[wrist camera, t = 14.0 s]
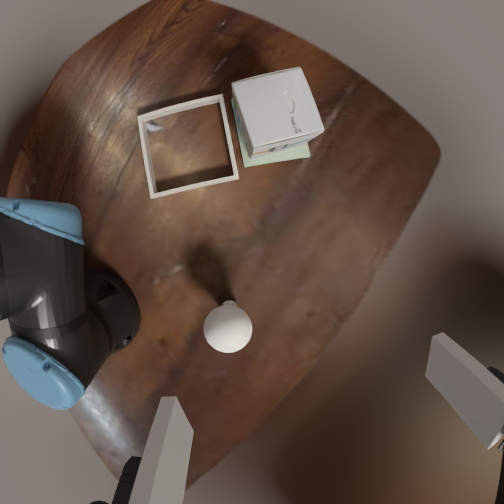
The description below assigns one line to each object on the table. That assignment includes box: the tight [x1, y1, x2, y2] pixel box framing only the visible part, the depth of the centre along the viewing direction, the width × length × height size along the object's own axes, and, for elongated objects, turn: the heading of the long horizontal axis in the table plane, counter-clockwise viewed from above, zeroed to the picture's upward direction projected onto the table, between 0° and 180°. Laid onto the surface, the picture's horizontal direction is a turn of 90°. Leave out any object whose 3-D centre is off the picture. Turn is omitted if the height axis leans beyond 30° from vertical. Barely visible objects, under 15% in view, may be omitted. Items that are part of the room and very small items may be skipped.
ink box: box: [232, 67, 324, 159], centre depth 32 cm, size 8×8×12 cm
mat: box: [231, 99, 310, 167], centre depth 38 cm, size 10×11×1 cm
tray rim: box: [137, 94, 239, 199], centre depth 37 cm, size 13×13×2 cm
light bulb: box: [204, 300, 252, 353], centre depth 39 cm, size 7×7×11 cm
